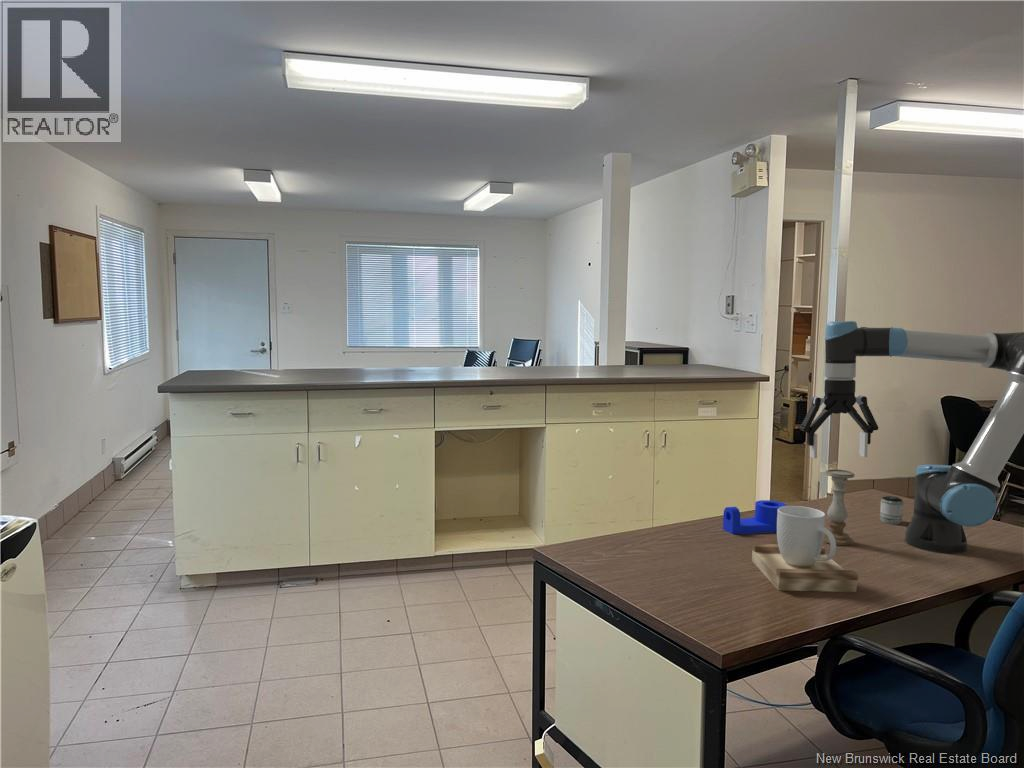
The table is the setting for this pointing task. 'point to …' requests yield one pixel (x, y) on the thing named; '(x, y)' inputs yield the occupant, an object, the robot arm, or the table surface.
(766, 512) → the bracket
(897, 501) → the camera lens
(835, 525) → the candle holder
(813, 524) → the mug
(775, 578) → the wooden tray
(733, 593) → the table surface
